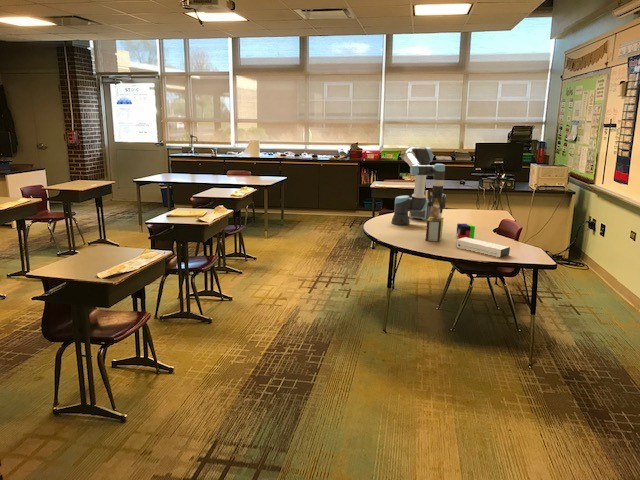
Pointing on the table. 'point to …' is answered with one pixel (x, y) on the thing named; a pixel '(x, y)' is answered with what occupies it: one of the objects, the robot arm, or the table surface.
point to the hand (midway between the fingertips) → (435, 216)
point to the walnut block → (434, 211)
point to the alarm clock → (420, 214)
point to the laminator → (482, 247)
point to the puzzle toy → (465, 231)
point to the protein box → (434, 229)
